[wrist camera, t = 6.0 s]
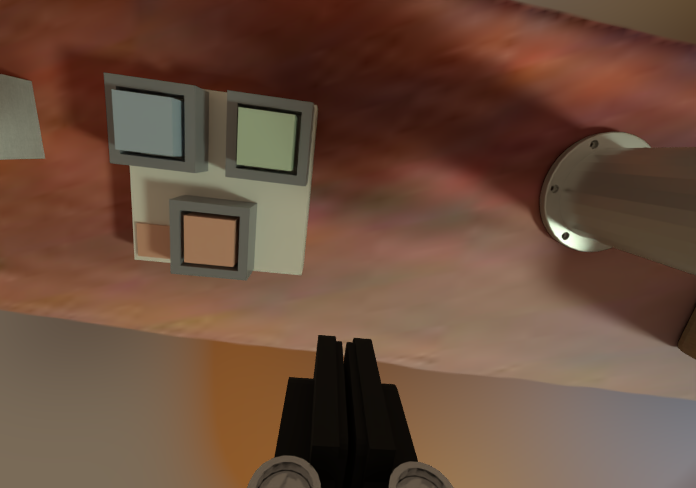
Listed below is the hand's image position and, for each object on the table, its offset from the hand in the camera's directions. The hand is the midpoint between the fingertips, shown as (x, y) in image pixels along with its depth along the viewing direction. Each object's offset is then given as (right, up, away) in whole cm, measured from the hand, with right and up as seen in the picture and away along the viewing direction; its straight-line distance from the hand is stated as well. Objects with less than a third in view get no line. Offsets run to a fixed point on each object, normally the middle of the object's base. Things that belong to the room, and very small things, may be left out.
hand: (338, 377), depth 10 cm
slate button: (-15, +14, +16) cm, 26 cm away
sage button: (-6, +13, +17) cm, 22 cm away
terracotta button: (-12, +5, +20) cm, 24 cm away
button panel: (-12, +10, +23) cm, 27 cm away
